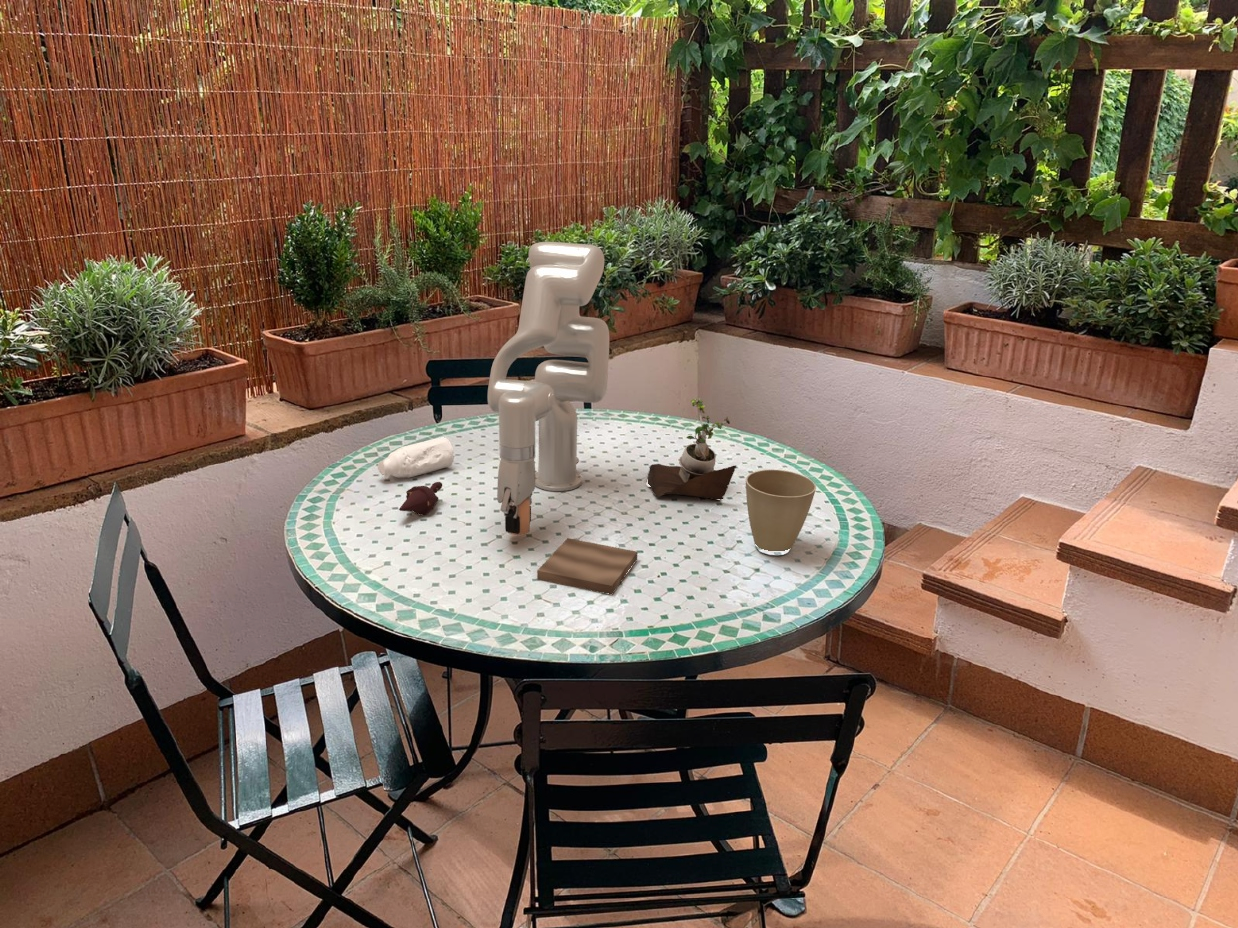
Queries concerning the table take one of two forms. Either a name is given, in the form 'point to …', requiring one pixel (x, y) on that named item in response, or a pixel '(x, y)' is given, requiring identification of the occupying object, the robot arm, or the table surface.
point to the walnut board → (587, 565)
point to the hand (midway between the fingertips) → (518, 526)
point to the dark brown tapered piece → (421, 499)
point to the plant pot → (777, 507)
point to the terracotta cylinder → (523, 516)
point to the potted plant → (693, 468)
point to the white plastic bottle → (418, 459)
